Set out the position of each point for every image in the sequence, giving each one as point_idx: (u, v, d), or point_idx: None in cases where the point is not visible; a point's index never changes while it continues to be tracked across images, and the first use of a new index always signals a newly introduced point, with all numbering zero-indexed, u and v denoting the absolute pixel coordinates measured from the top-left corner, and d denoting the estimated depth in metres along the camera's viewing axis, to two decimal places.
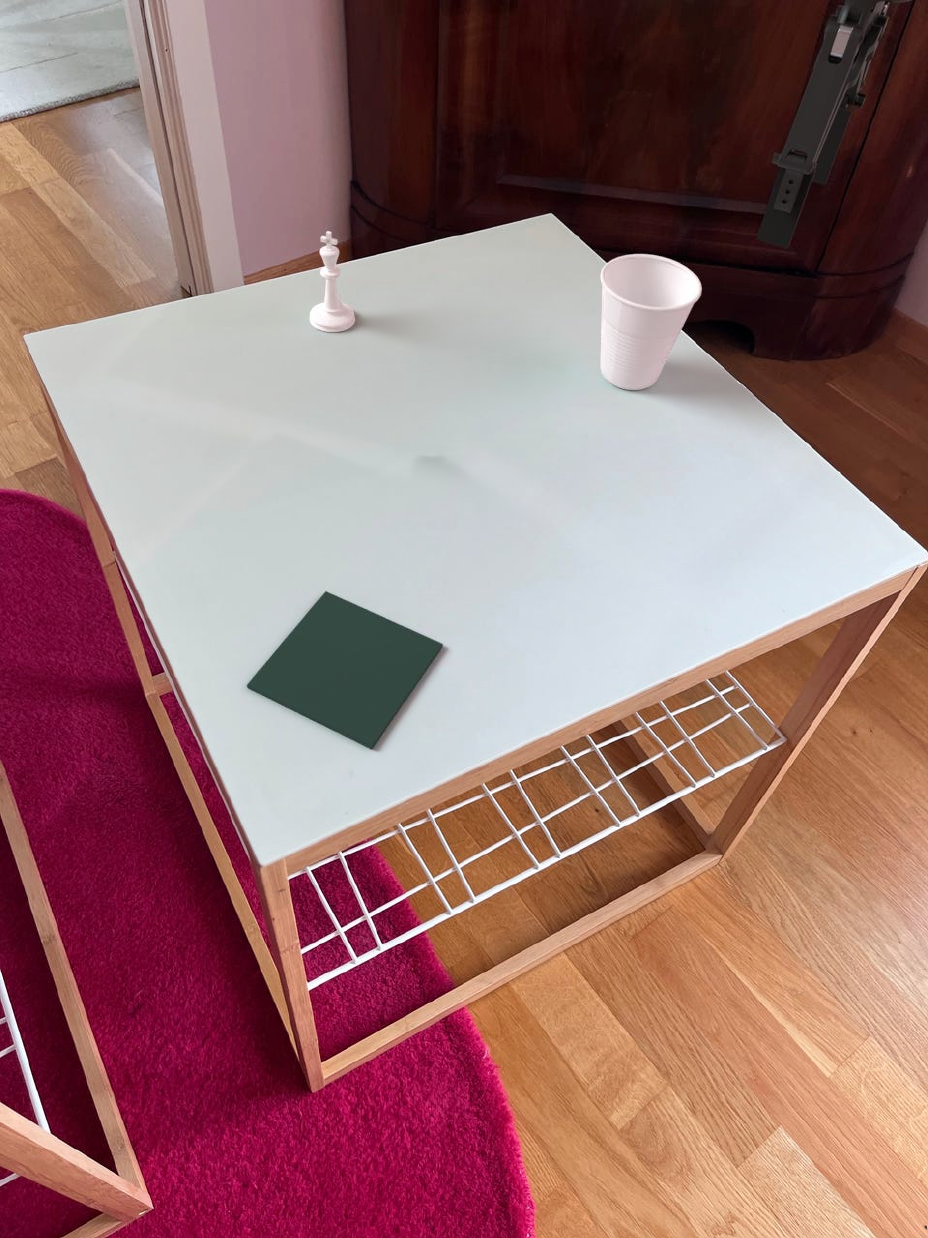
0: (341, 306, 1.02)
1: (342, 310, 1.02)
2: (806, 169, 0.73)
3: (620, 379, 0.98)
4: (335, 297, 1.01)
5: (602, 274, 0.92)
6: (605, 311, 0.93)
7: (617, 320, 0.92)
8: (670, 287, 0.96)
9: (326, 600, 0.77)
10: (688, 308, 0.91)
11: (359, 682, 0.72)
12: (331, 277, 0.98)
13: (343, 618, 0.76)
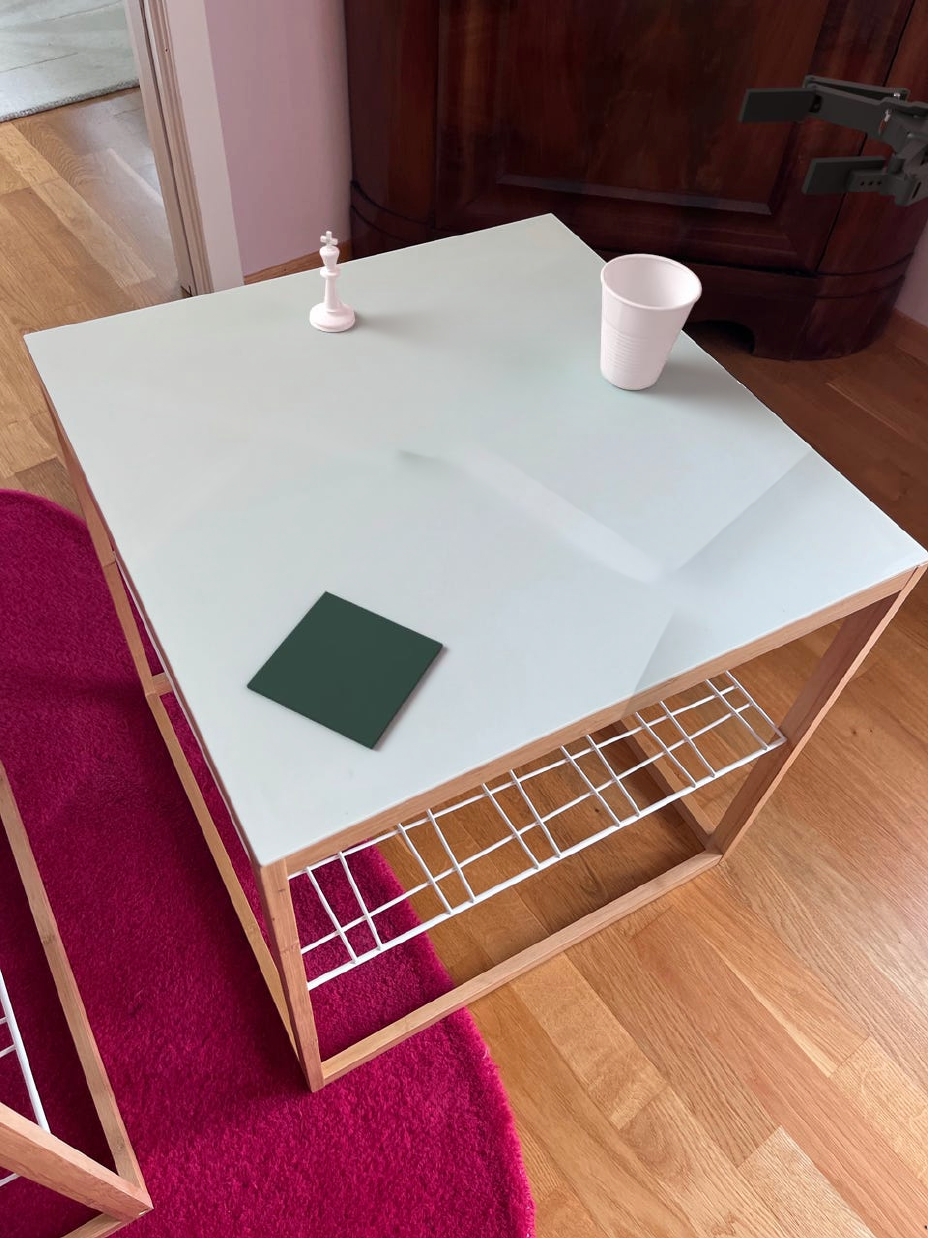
0: (341, 306, 1.02)
1: (342, 310, 1.02)
2: None
3: (620, 379, 0.98)
4: (335, 297, 1.01)
5: (602, 274, 0.92)
6: (605, 311, 0.93)
7: (617, 320, 0.92)
8: (670, 287, 0.96)
9: (326, 600, 0.77)
10: (688, 308, 0.91)
11: (359, 682, 0.72)
12: (331, 277, 0.98)
13: (343, 618, 0.76)
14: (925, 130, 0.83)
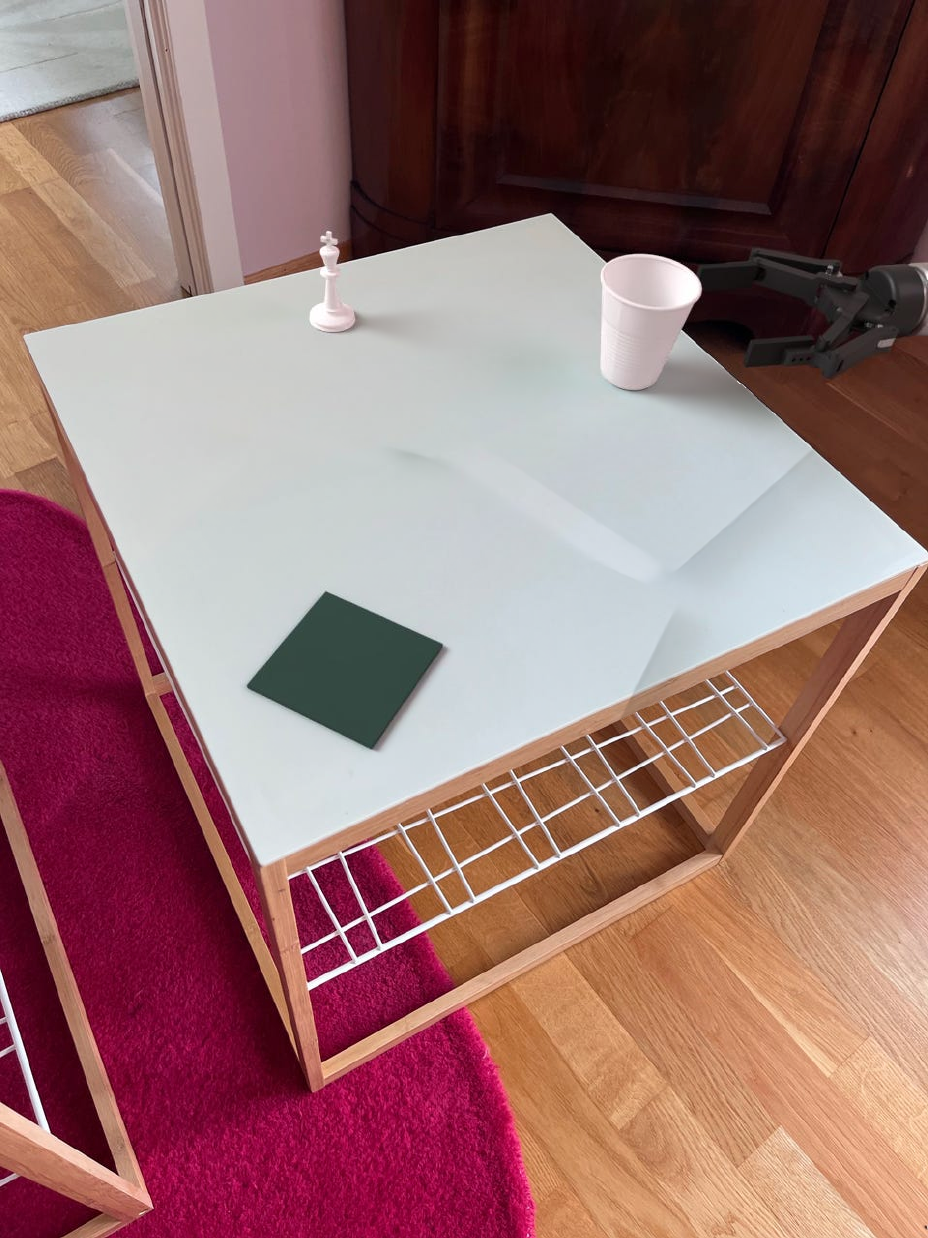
0: (341, 306, 1.02)
1: (342, 310, 1.02)
2: None
3: (620, 379, 0.98)
4: (335, 297, 1.01)
5: (602, 274, 0.92)
6: (605, 311, 0.93)
7: (617, 320, 0.92)
8: (670, 287, 0.96)
9: (326, 600, 0.77)
10: (688, 308, 0.91)
11: (359, 682, 0.72)
12: (331, 277, 0.98)
13: (343, 618, 0.76)
14: (850, 308, 0.96)
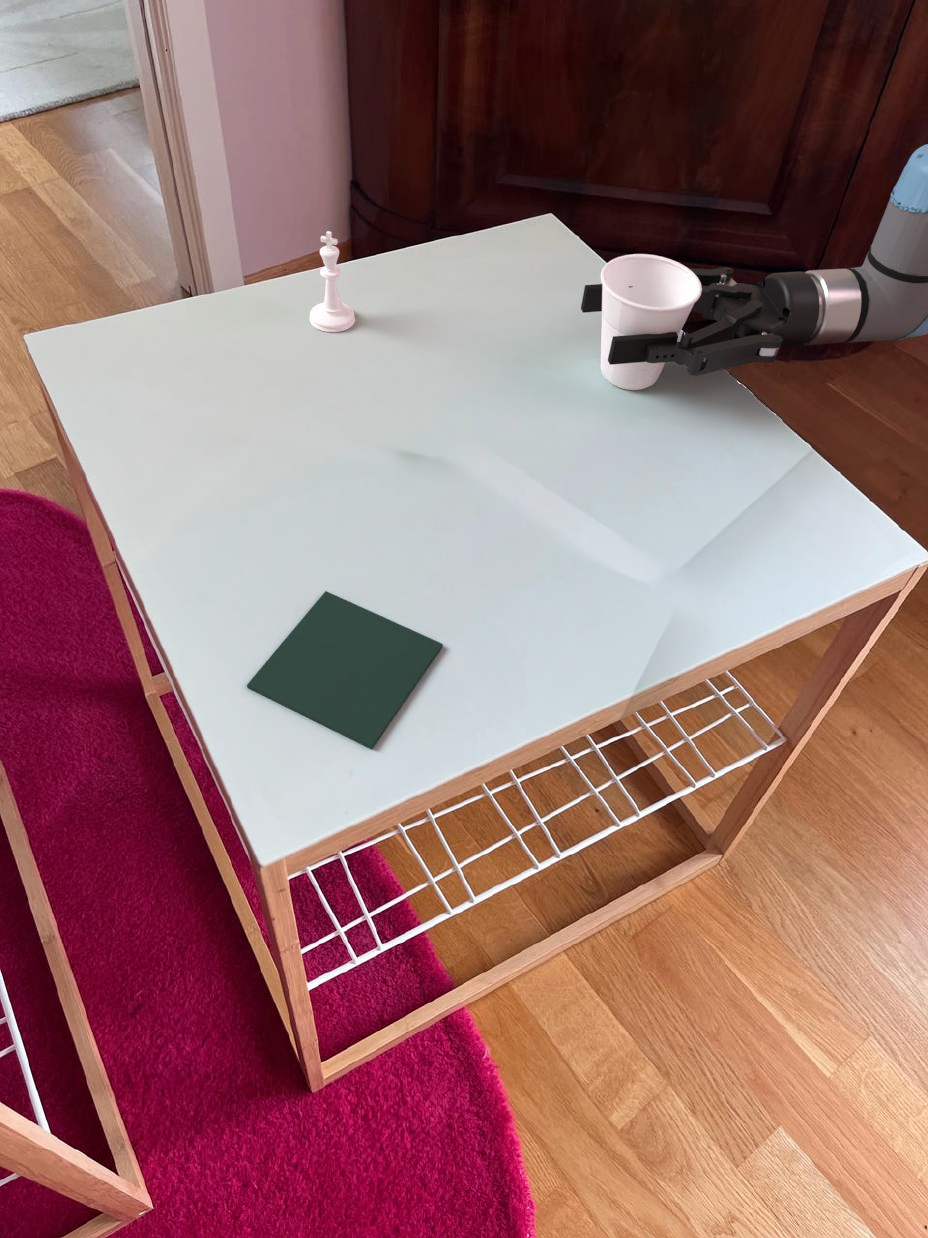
0: (341, 306, 1.02)
1: (342, 310, 1.02)
2: None
3: (620, 379, 0.98)
4: (335, 297, 1.01)
5: (602, 274, 0.92)
6: (605, 311, 0.93)
7: (617, 320, 0.92)
8: (670, 287, 0.96)
9: (326, 600, 0.77)
10: (688, 308, 0.91)
11: (359, 682, 0.72)
12: (331, 277, 0.98)
13: (343, 618, 0.76)
14: (742, 316, 0.94)
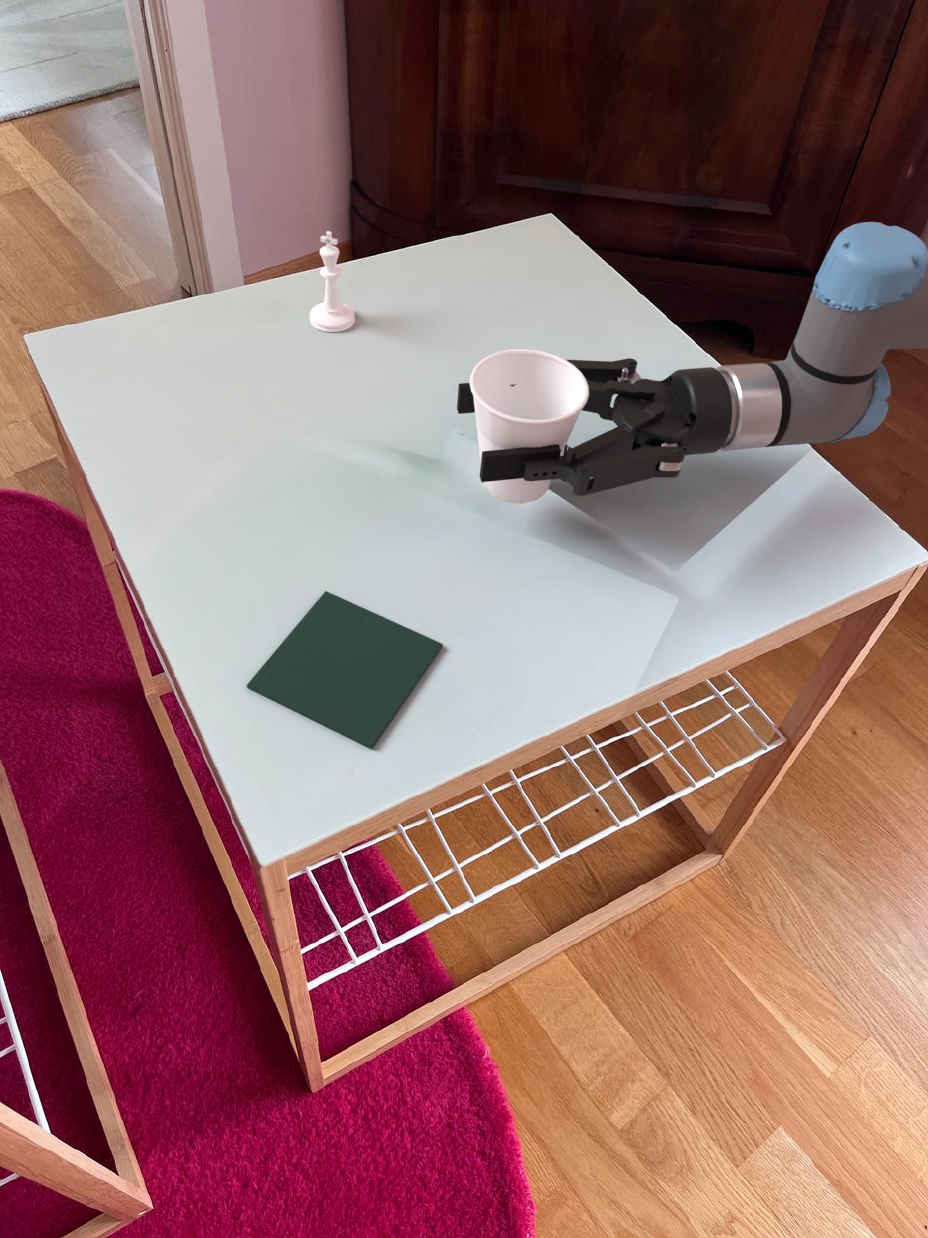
0: (341, 306, 1.02)
1: (342, 310, 1.02)
2: None
3: (501, 492, 0.84)
4: (335, 297, 1.01)
5: (472, 376, 0.78)
6: (477, 419, 0.79)
7: (489, 431, 0.78)
8: (558, 386, 0.82)
9: (326, 600, 0.77)
10: (571, 418, 0.77)
11: (359, 682, 0.72)
12: (331, 277, 0.98)
13: (343, 618, 0.76)
14: (639, 424, 0.80)
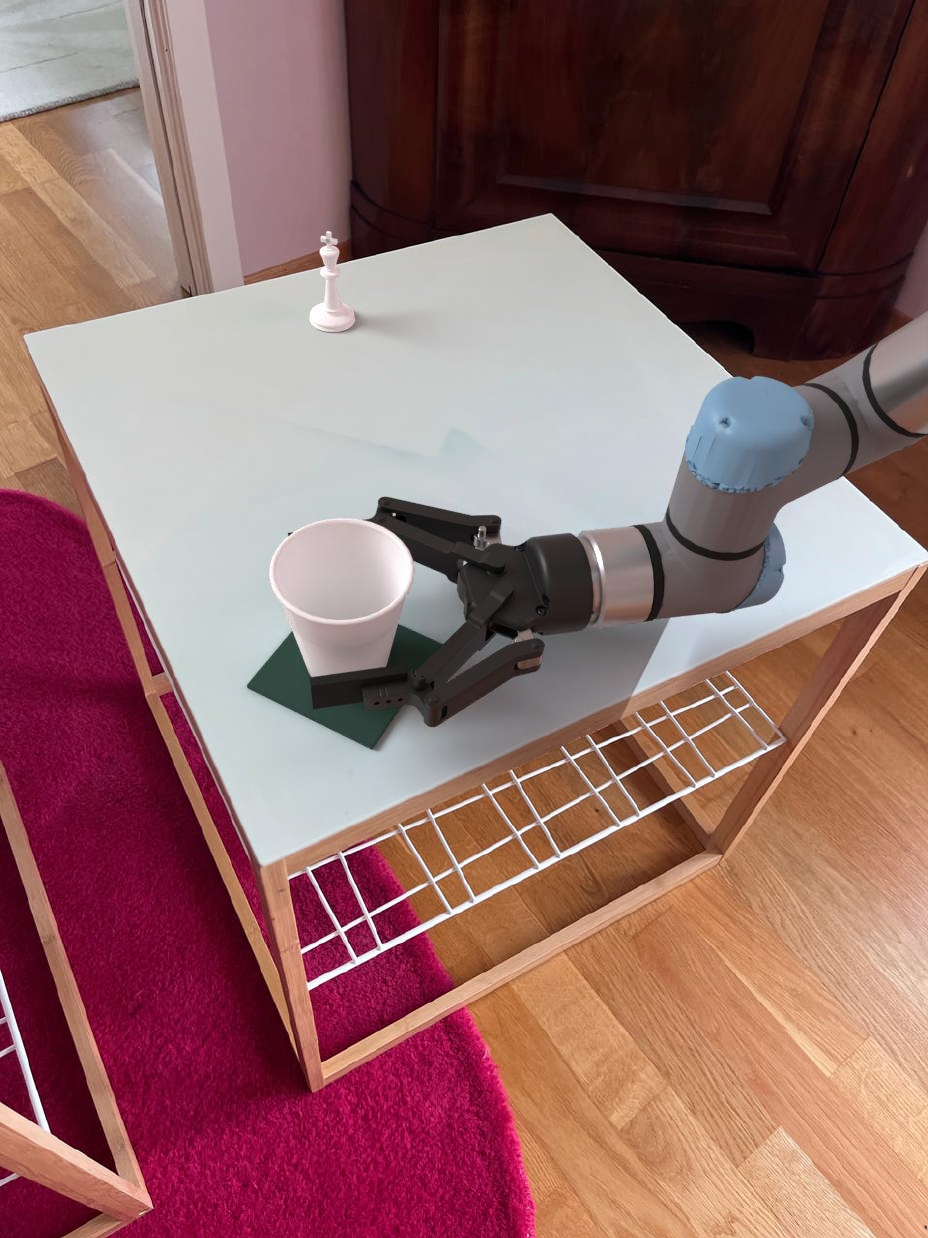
0: (341, 306, 1.02)
1: (342, 310, 1.02)
2: (383, 498, 0.75)
3: None
4: (335, 297, 1.01)
5: (273, 559, 0.65)
6: None
7: (294, 625, 0.65)
8: (387, 560, 0.69)
9: None
10: (389, 613, 0.64)
11: None
12: (331, 277, 0.98)
13: None
14: (480, 611, 0.67)
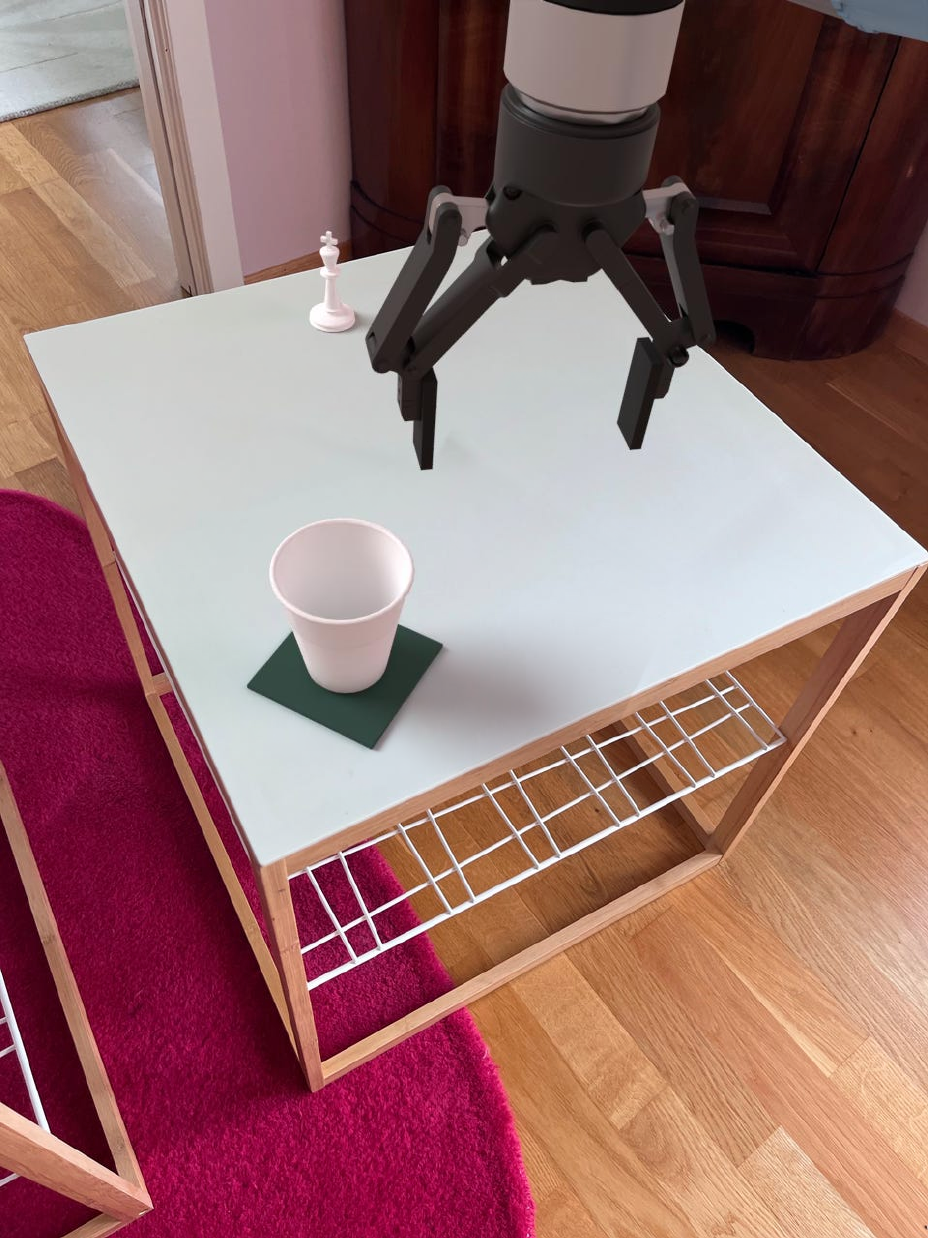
0: (341, 306, 1.02)
1: (342, 310, 1.02)
2: (371, 364, 0.52)
3: (324, 682, 0.71)
4: (335, 297, 1.01)
5: (273, 559, 0.65)
6: None
7: (294, 624, 0.65)
8: (387, 560, 0.69)
9: None
10: (389, 613, 0.64)
11: None
12: (331, 277, 0.98)
13: None
14: (618, 276, 0.50)
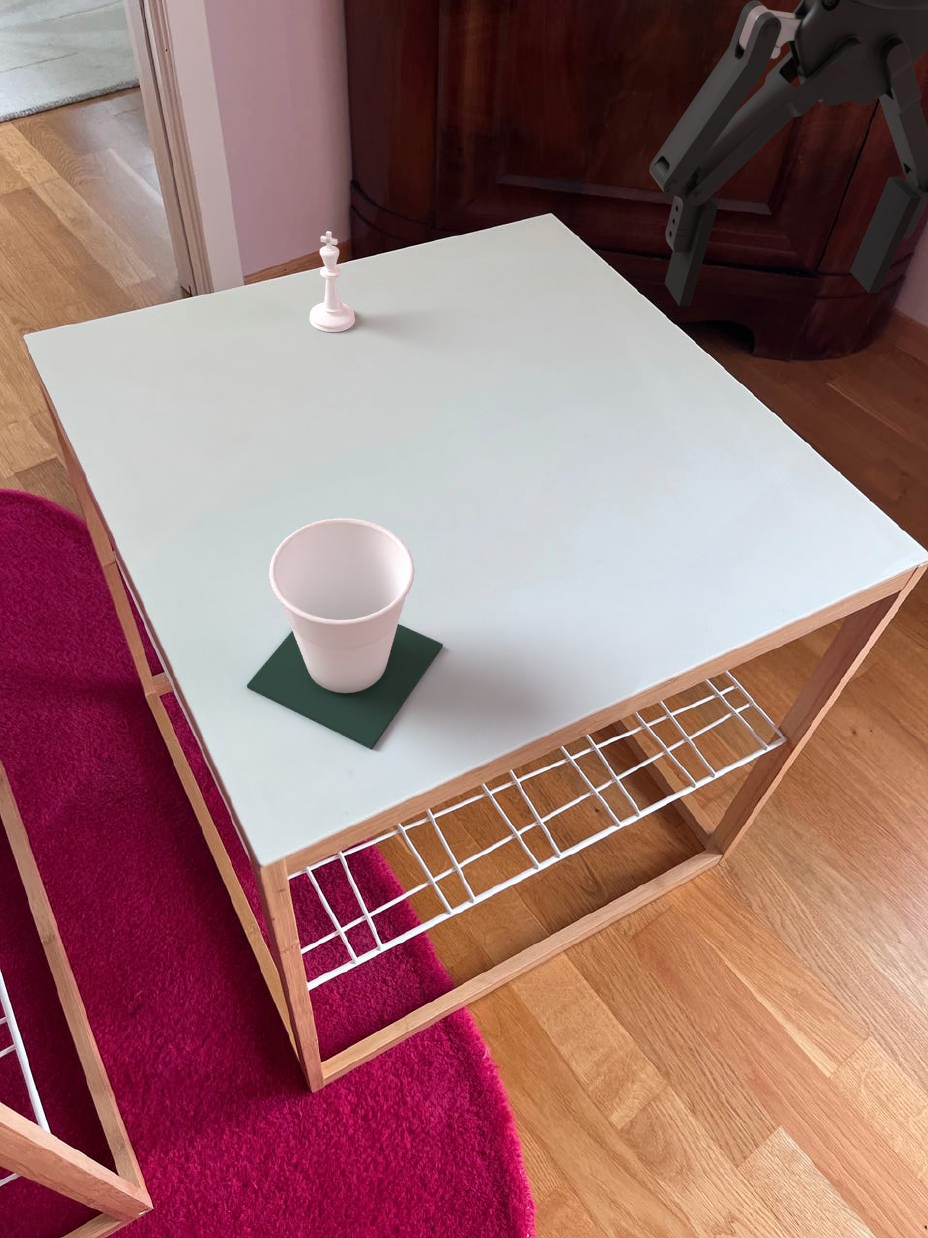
0: (341, 306, 1.02)
1: (342, 310, 1.02)
2: (662, 186, 0.54)
3: (324, 682, 0.71)
4: (335, 297, 1.01)
5: (273, 559, 0.65)
6: None
7: (294, 624, 0.65)
8: (387, 560, 0.69)
9: None
10: (389, 613, 0.64)
11: None
12: (331, 277, 0.98)
13: None
14: (905, 97, 0.53)
